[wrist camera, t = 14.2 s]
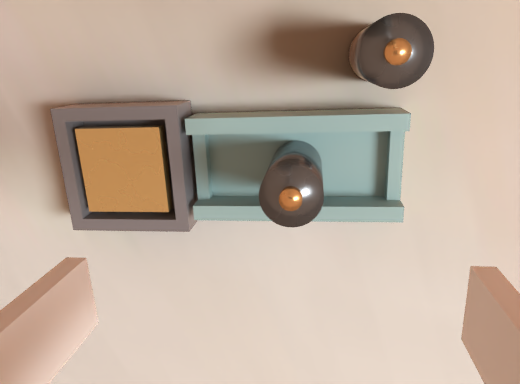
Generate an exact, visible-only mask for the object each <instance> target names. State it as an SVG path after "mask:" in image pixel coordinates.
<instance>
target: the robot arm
mask: <svg viewBox="0 0 520 384" xmlns="http://www.w3.org/2000/svg"><path fill="white" fill-rule="evenodd" d="M98 323H99V322H98V317H97V312H96V307H95V301H94V296H93V291H92V286H91V280H90V275H89V270H88V264H87V259H86V258H69V257H67V258H65V259H64V260H63V261H62V262H60V263H59V264H58V265H57V266H55V267H54V268H53V269H52V270H50V271H49V272H48V273H47V274H45V275H44V276H43V277H42V278H40V279H39V280H38V281H37V282H35V283H34V284H33V285H32V286H30V287H29V288H28V289H27V290H25V291H24V292H23V293H22V294H20V295H19V296H18V297H17V298H15V299H14V300H13V301H12V302H10V303H9V304H8V305H7V306H5V307H4V308H3V309H2V310H0V384H49V383H50V382H51V381H52V379H53V378H54V377H55V376H56V374H57V373H58V372H59V371H60V370H61V368H62V367H63V366H64V365H65V363H66V362H67V361H68V360H69V359H70V357H71V356H72V355H73V354H74V352H75V351H76V350H77V349H78V348H79V346H80V345H81V344H82V343H83V341H84V340H85V339H86V338H87V337H88V335H89V334H90V333H91V332H92V330H93V329H94V328H95V327H96V326H97V324H98ZM461 339H462V341H463V343H464V345H465V347H466V349H467V351H468V353H469V355H470V357H471V359H472V361H473V362H474V364H475V366H476V368H477V370H478V372H479V374H480V376H481V378H482V380H483V382H484V384H520V294H519V292H518V291H517V290H516V289H515V288H514V287H513V286H512V284H511V283H510V282H509V281H508V280H507V279H506V278H505V276H504V275H503V274H502V273H501V272H500V271H499V269H498V268H497V267H480V266H471V267H470V275H469V283H468V291H467V298H466V306H465V314H464V322H463V330H462V337H461Z"/></svg>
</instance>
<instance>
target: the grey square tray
mask: <svg viewBox="0 0 520 384" xmlns="http://www.w3.org/2000/svg"><path fill="white" fill-rule="evenodd" d="M50 110H51V116H52V121H53V126H54V131H55V136H56V142H57V147H58V152H59V157H60V162H61V168H62V173H63V178H64V183H65V188H66V194H67V199H68V204H69V209H70V214H71V220H72V225H73V230H106V231H177V232H189V231H190V230H191V229H192V227H193V226H194V225H195V223H196V222H197V220H194V212H193V205H194V204H195V203H196V202H197V200H198V194H197V183H196V172H195V161H194V150H193V139H192V135H186V128H185V118H188V117H190V116H192V113H191V101H162V102H129V103H95V104H73V105H68V106H63V107H57V108H52V109H50ZM150 125H164V133H165V142H166V151H167V160H168V169H169V178H170V187H171V196H172V205H173V208H172V209H171V210H170V211H169V212H89V207H88V201H87V196H86V190H85V184H84V179H83V173H82V167H81V162H80V156H79V150H78V145H77V139H76V133H75V129H76V128H80V127H104V126H150Z"/></svg>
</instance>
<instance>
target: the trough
mask: <svg viewBox="0 0 520 384" xmlns="http://www.w3.org/2000/svg"><path fill="white" fill-rule="evenodd" d="M410 118H411V113H409V112H407V111H406V110H404V109H402V108H373V109H334V110H295V111H255V112H216V113H196V114H194V115H192V116H190V117H188V118H185V128H186V135H192V139H193V150H194V161H195V172H196V183H197V194H198V200H197V202H196V203H195V204H194V205H193V212H194V220H229V221H272V220H270V219H269V218H268V217H267V216H266V215H265V213H264V212H263V210H262V208H261V206H260V202H259V189H260V186H261V183H262V181H263V179H264V176H265V174H266V172H267V169H268V167H269V165H270V162H271V160H272V158H273V156H274V153H275V152H276V150H277V149H278V148H279V147H280V146H281V145H283V144H285V143H287V142H289V141H295V140H298V141H304V142H307V143H309V144H311V145H312V146H313V147H314V148H315V149H316V150H317V151H318V153H319V155H320V157H321V161H322V174H323V190H324V202H323V206H322V209H321V210H320V212H319V214H318V215H317V216H316V217H315V218H314V219H313V220H312V221H326V222H403V217H404V206H403V204H402V203H401V201H400V195H401V181H402V166H403V151H404V136H405V131H410Z"/></svg>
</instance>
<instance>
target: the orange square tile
mask: <svg viewBox="0 0 520 384" xmlns="http://www.w3.org/2000/svg"><path fill="white" fill-rule="evenodd" d="M75 133H76V139H77V145H78V150H79V156H80V162H81V167H82V173H83V179H84V184H85V190H86V196H87V201H88V207H89V212H169V211H170V210H171V209H172V208H173V205H172V196H171V187H170V178H169V169H168V160H167V151H166V142H165V133H164V125H150V126H104V127H80V128H76V129H75Z"/></svg>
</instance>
